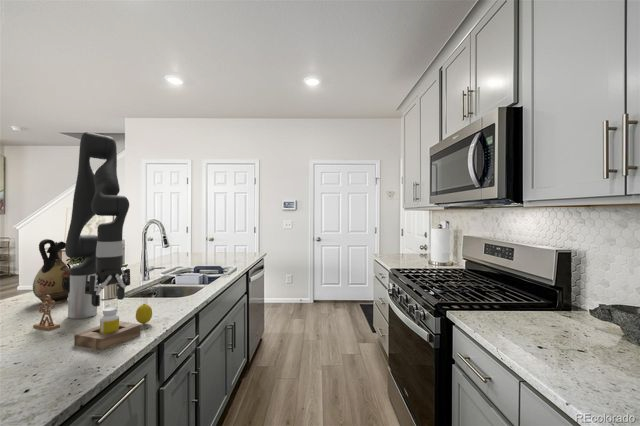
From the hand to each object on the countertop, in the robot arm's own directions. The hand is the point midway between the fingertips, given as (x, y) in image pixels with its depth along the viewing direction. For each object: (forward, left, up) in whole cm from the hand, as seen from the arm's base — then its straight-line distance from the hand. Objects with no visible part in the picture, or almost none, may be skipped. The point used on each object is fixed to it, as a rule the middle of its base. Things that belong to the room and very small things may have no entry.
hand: (108, 302), depth 106 cm
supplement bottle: (0, 0, -12) cm, 12 cm away
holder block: (0, 0, -12) cm, 12 cm away
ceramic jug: (-66, +24, -13) cm, 71 cm away
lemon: (-1, +15, -13) cm, 20 cm away
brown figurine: (-32, +1, -13) cm, 34 cm away
